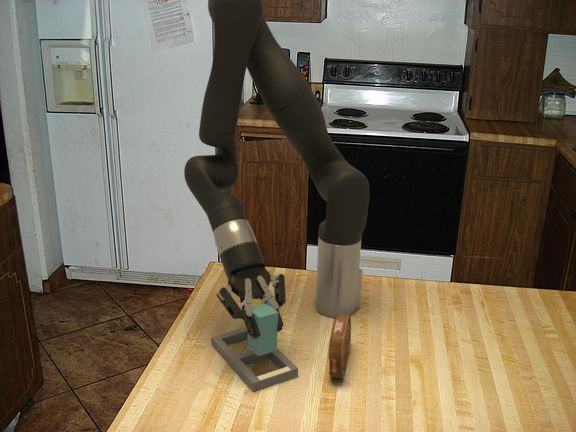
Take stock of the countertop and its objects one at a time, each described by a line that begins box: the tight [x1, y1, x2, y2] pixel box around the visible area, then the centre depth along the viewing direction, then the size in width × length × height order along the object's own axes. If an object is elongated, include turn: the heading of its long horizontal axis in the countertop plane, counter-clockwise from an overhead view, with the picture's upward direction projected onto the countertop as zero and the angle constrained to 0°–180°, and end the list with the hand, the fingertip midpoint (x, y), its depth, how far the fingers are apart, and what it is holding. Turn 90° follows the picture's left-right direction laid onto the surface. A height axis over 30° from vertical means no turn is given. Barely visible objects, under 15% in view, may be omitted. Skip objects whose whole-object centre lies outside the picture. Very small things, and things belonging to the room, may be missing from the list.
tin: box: [328, 315, 352, 380], centre depth 121 cm, size 15×3×8 cm, turn 168°
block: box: [247, 303, 279, 356], centre depth 116 cm, size 4×4×8 cm
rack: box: [210, 326, 299, 393], centre depth 122 cm, size 10×18×2 cm, turn 31°
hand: (268, 333), depth 115 cm, fingers closed on block, 4 cm apart
